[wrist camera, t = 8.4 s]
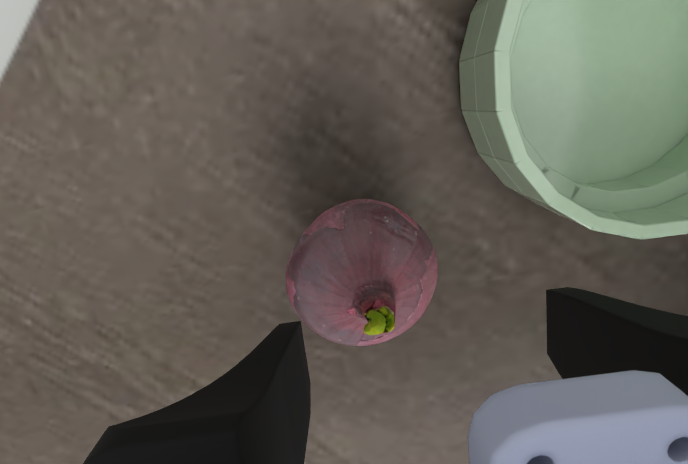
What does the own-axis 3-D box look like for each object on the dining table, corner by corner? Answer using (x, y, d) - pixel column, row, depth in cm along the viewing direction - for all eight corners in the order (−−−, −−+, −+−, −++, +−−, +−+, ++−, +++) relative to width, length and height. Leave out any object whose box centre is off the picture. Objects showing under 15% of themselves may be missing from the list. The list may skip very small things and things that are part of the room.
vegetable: (439, 216, 23) (521, 294, 14) (384, 322, 25) (422, 461, 15) (326, 163, 23) (327, 207, 13) (274, 276, 24) (240, 393, 14)
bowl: (730, 193, 24) (834, 216, 19) (465, 226, 24) (500, 257, 19) (758, -113, 20) (894, -182, 15) (448, -77, 20) (487, -134, 15)
